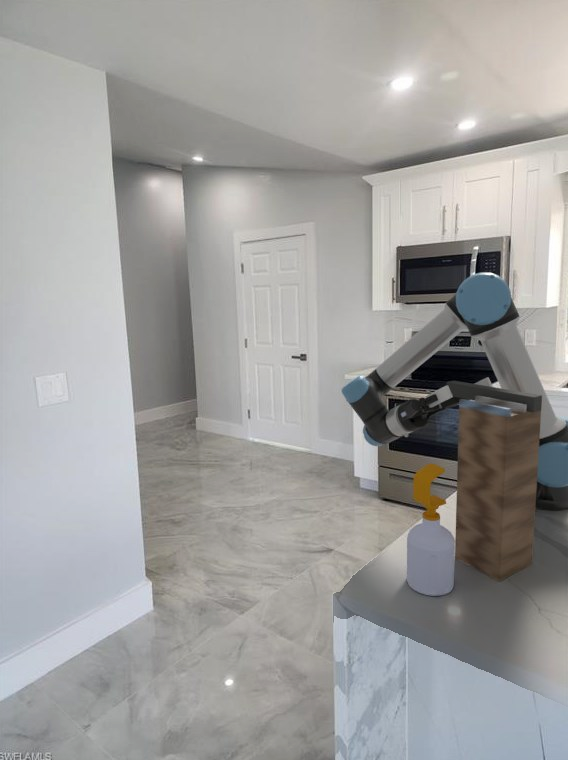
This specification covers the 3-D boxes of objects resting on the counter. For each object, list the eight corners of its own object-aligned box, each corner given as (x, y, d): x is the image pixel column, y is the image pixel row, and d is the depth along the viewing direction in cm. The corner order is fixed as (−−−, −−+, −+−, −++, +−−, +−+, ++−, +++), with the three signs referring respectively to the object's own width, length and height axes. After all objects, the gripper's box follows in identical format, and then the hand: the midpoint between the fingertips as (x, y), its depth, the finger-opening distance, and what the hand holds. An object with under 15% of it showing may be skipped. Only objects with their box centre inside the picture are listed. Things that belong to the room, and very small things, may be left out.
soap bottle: (463, 587, 99) (467, 469, 95) (430, 602, 95) (432, 479, 90) (429, 566, 107) (431, 456, 102) (397, 579, 103) (398, 465, 98)
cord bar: (446, 394, 115) (446, 382, 114) (453, 393, 116) (454, 380, 115) (533, 412, 97) (534, 397, 97) (541, 410, 99) (542, 395, 98)
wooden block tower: (453, 556, 110) (457, 399, 104) (485, 542, 116) (491, 391, 109) (499, 581, 101) (507, 409, 94) (532, 563, 106) (541, 400, 100)
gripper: (447, 422, 133) (512, 394, 116) (376, 441, 120) (437, 412, 103) (436, 396, 135) (498, 364, 117) (365, 411, 122) (423, 378, 105)
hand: (470, 386), depth 110 cm, fingers open, 13 cm apart
